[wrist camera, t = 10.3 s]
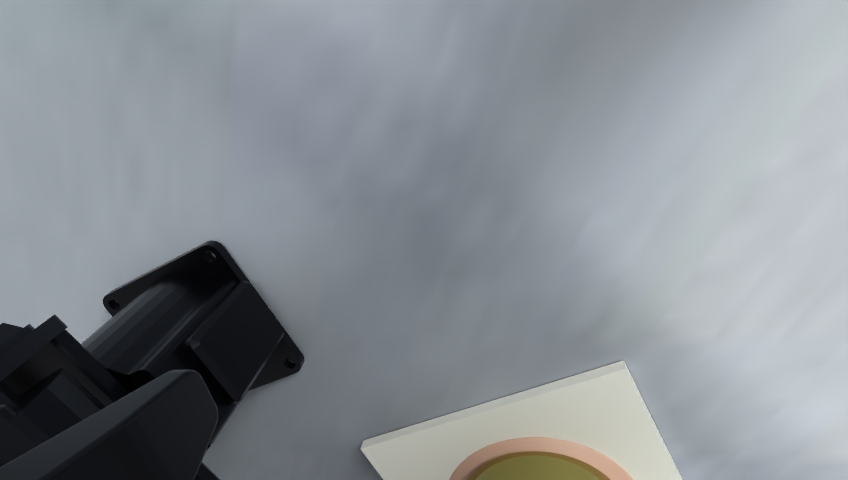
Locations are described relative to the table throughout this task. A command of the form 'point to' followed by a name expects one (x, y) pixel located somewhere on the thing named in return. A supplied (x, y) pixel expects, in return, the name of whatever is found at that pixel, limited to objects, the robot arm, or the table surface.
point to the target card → (535, 432)
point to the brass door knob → (536, 468)
